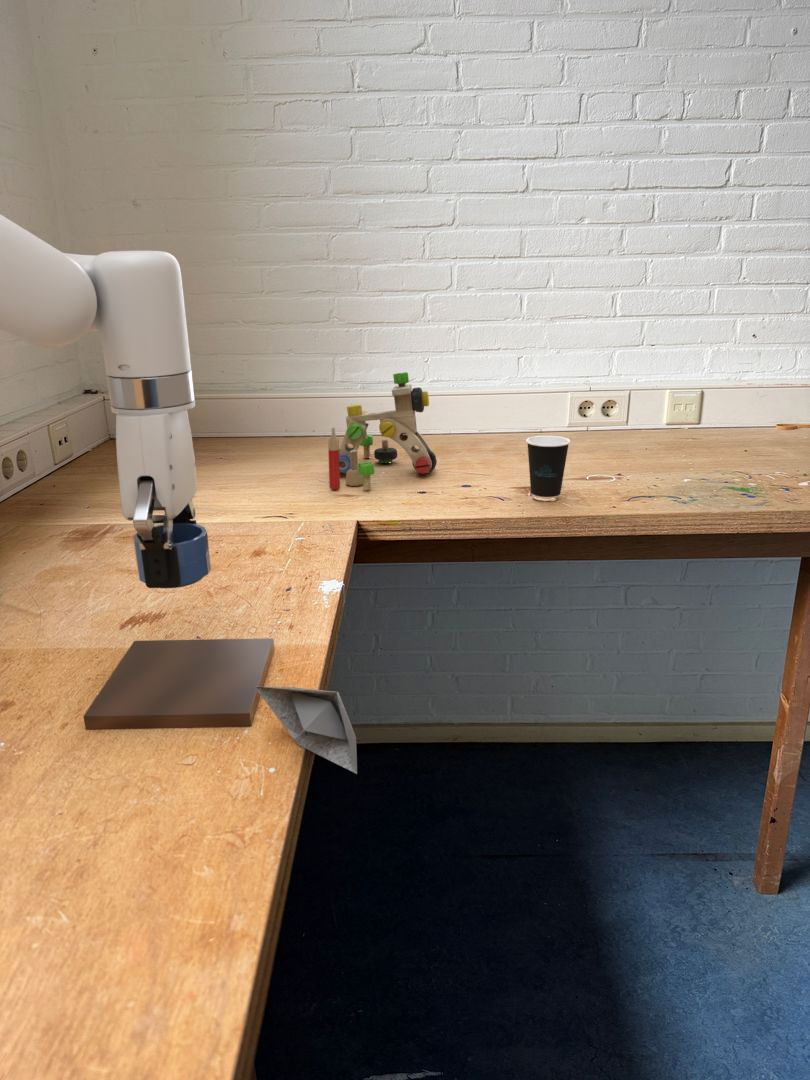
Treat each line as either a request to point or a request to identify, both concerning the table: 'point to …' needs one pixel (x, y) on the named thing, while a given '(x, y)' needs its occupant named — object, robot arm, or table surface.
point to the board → (183, 685)
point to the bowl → (184, 552)
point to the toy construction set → (390, 426)
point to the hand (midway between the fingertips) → (174, 570)
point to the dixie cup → (547, 465)
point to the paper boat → (315, 722)
